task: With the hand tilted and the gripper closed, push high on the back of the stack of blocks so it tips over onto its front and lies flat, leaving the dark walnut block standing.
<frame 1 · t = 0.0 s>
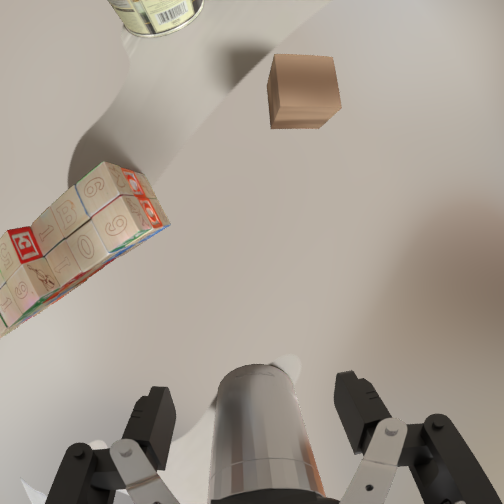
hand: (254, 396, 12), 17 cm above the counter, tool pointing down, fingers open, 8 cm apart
coffee can: (162, 9, 23), on the counter
walnut block: (293, 106, 26), on the counter
stack of blocks: (84, 249, 28), on the counter
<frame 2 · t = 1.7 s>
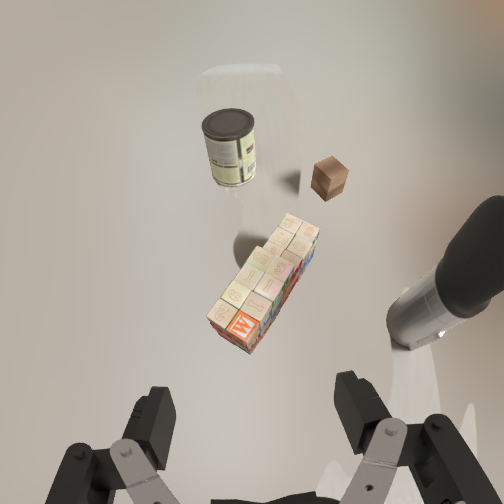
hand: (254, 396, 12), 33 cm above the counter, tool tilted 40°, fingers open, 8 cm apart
coffee can: (233, 171, 63), on the counter
walnut block: (326, 189, 60), on the counter
stack of blocks: (269, 295, 49), on the counter
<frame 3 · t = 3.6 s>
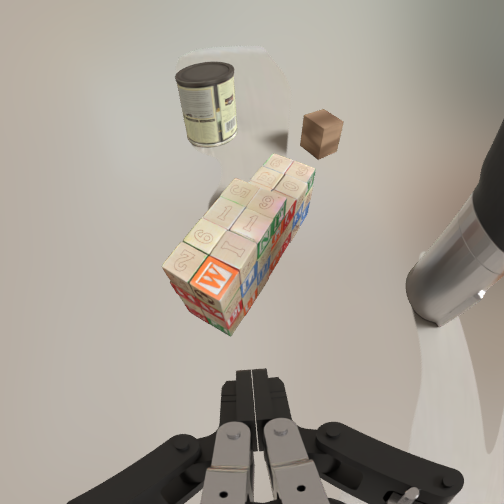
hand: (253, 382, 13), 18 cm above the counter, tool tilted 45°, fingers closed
coffee can: (211, 133, 53), on the counter
walnut block: (318, 148, 50), on the counter
stack of blocks: (254, 260, 38), on the counter
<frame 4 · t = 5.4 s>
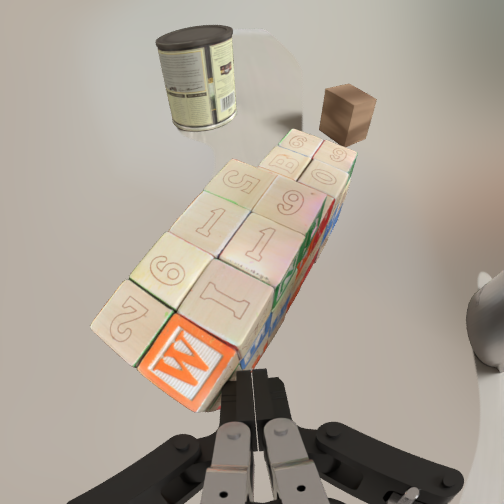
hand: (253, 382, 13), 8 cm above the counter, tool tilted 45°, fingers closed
coffee can: (204, 115, 40), on the counter
walnut block: (342, 134, 37), on the counter
stack of blocks: (261, 289, 25), on the counter, touching gripper
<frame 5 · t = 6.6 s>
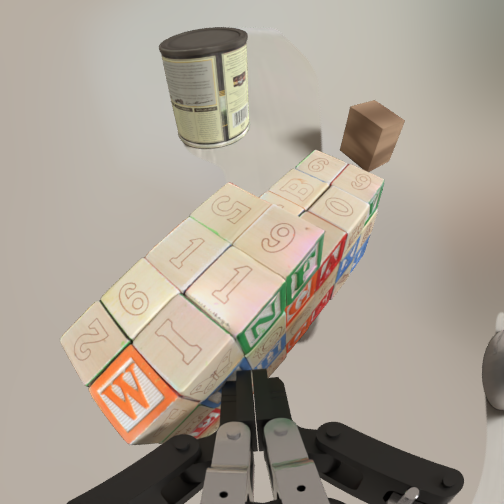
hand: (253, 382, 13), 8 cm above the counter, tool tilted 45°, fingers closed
coffee can: (213, 128, 37), on the counter
walnut block: (364, 155, 34), on the counter
stack of blocks: (268, 321, 23), on the counter, touching gripper
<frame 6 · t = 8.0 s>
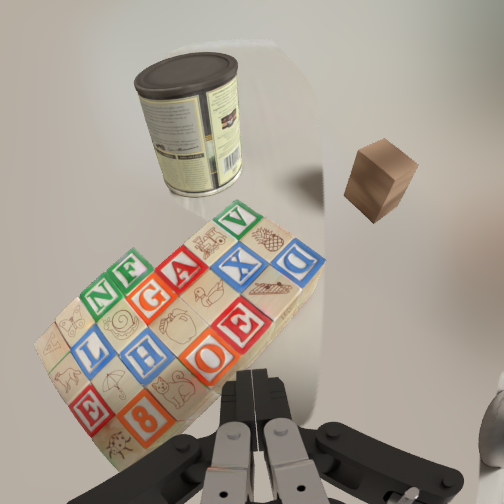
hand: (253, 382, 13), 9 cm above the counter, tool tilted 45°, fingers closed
coffee can: (202, 169, 35), on the counter
walnut block: (371, 200, 32), on the counter
stack of blocks: (233, 381, 19), point 3 cm above the counter
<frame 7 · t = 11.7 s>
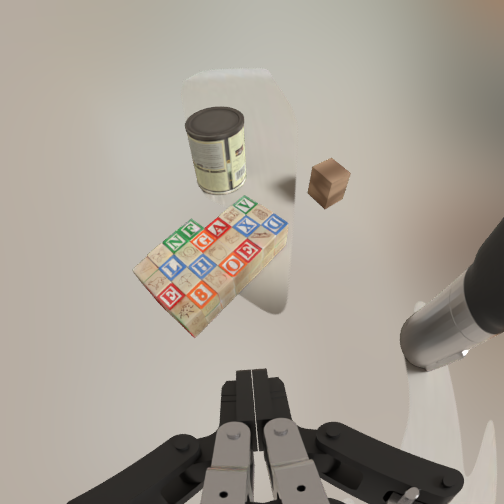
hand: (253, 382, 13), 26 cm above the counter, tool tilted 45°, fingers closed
coffee can: (221, 178, 57), on the counter
walnut block: (325, 196, 54), on the counter
stack of blocks: (243, 282, 41), point 3 cm above the counter
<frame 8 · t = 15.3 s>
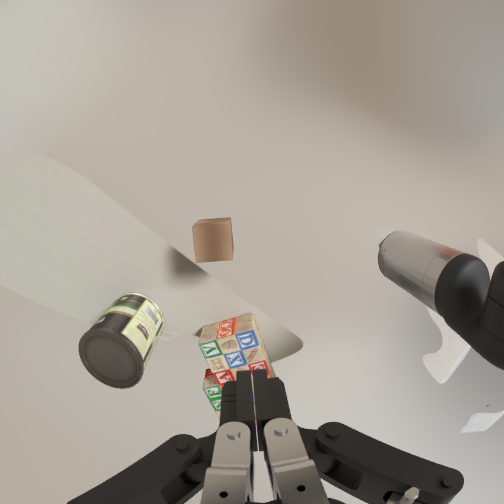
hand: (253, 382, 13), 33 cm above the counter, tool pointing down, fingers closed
coffee can: (138, 318, 48), on the counter
walnut block: (216, 234, 45), on the counter
stack of blocks: (272, 368, 47), point 3 cm above the counter
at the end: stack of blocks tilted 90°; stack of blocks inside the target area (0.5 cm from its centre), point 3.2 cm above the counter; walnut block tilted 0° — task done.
